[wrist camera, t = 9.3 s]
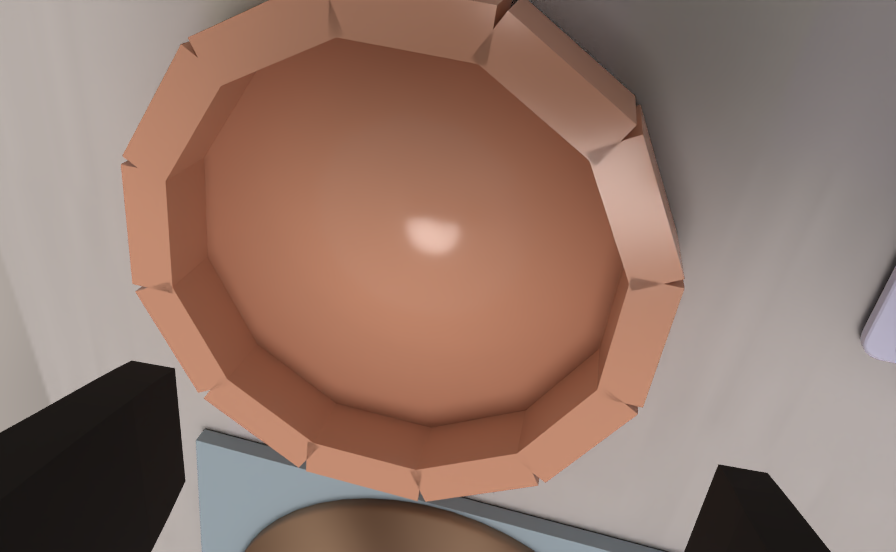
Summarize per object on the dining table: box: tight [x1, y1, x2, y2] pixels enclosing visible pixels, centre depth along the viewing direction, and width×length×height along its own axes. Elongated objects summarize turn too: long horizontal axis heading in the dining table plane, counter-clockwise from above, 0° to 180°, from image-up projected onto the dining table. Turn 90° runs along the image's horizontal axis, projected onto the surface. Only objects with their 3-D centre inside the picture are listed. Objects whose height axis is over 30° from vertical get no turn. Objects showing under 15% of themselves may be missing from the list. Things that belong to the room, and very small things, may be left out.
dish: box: [121, 0, 685, 502], centre depth 19 cm, size 14×14×2 cm
